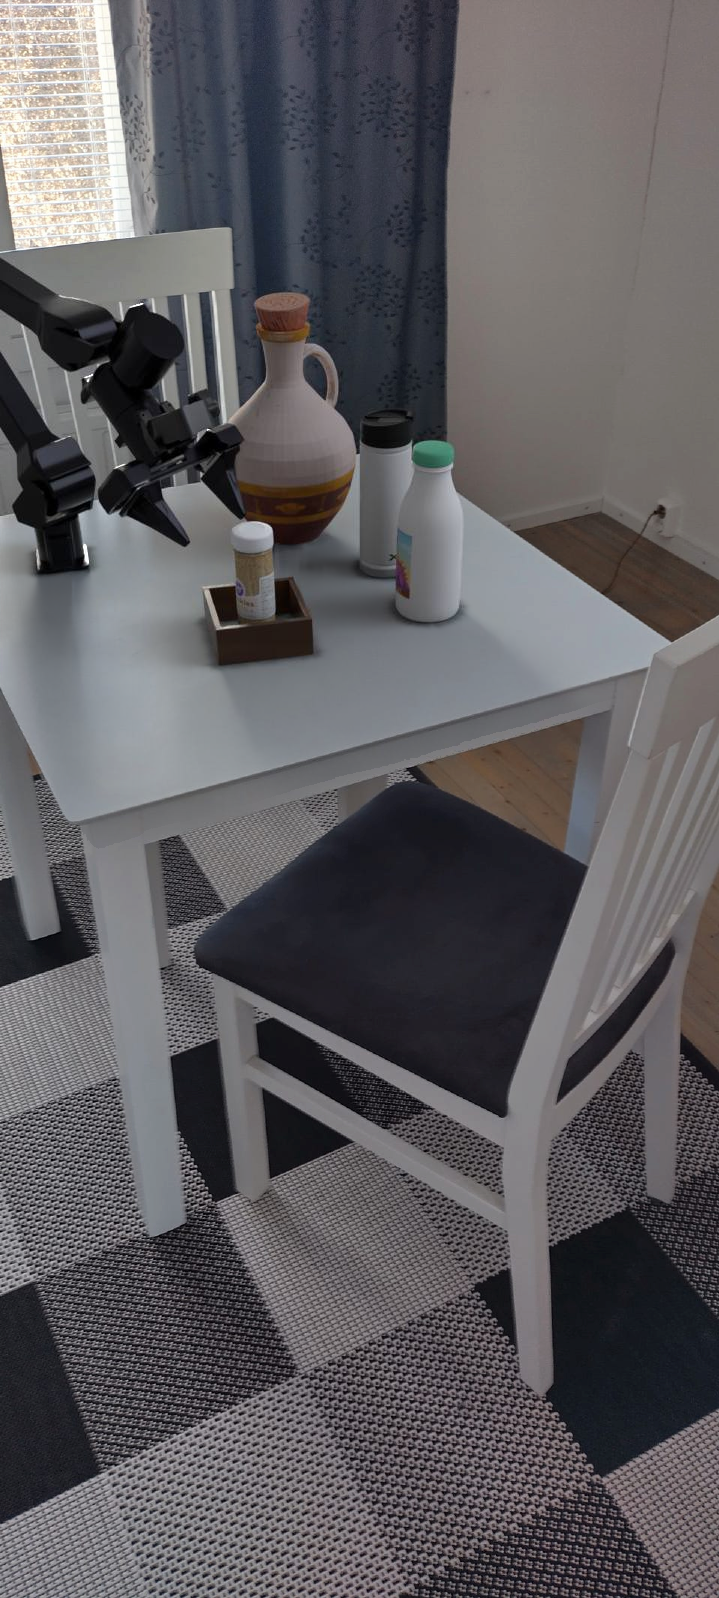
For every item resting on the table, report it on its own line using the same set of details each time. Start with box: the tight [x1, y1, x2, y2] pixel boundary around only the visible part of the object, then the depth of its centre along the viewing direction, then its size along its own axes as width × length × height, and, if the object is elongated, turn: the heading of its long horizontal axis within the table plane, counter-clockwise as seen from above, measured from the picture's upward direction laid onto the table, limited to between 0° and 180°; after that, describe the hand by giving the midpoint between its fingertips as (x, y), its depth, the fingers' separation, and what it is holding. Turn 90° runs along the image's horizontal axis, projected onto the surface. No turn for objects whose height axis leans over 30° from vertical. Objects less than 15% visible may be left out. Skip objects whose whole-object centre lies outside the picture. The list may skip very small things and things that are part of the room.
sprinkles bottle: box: [230, 521, 276, 625], centre depth 132 cm, size 5×5×14 cm
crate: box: [201, 576, 314, 667], centre depth 135 cm, size 11×11×4 cm
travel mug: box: [359, 408, 417, 579], centre depth 145 cm, size 6×7×20 cm
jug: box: [227, 291, 357, 546], centre depth 151 cm, size 20×18×30 cm
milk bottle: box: [394, 440, 464, 623], centre depth 136 cm, size 8×8×20 cm
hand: (216, 530), depth 132 cm, fingers open, 9 cm apart
